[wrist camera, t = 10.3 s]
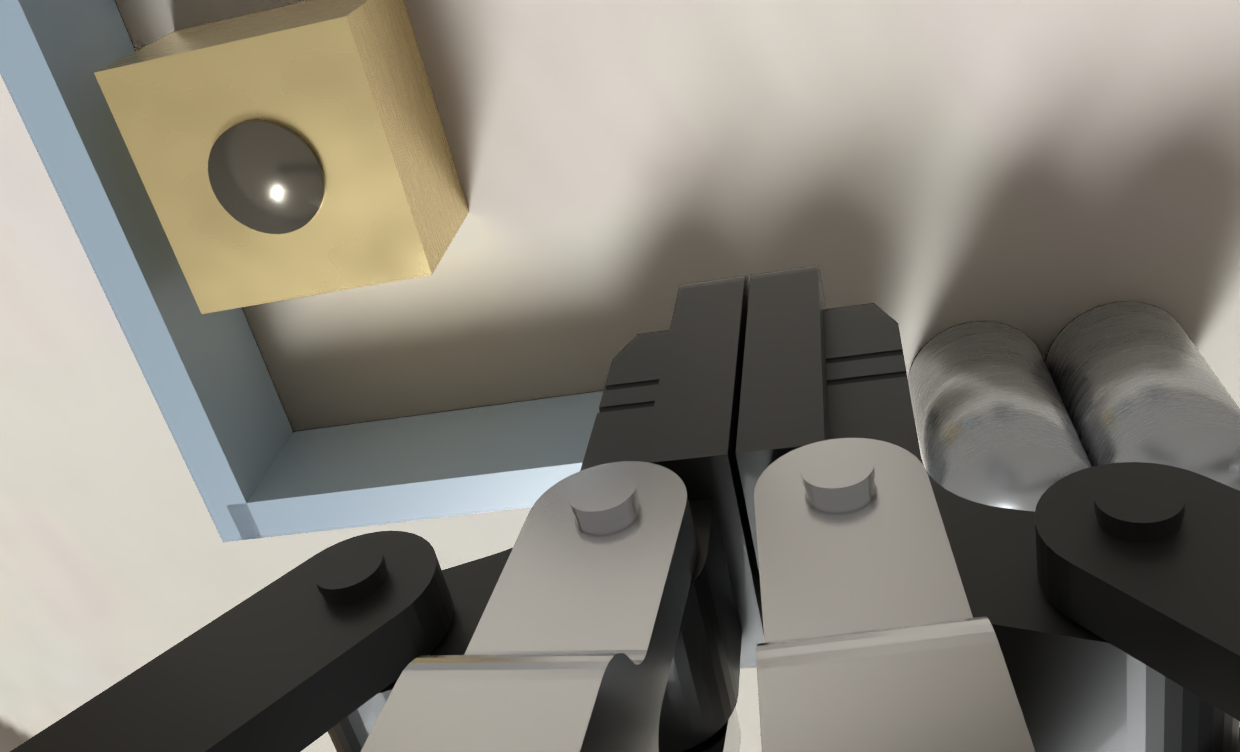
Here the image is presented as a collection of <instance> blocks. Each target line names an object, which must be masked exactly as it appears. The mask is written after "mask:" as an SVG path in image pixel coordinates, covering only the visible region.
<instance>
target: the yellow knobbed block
mask: <svg viewBox="0 0 1240 752" xmlns="http://www.w3.org/2000/svg"><path fill="white" fill-rule="evenodd" d="M94 74H95V76H96V79H97V81H98V83H99V85H100V88H101V90H102V92H103V94H104V97H105V99H106V101H107V103H108V106H109V108H110V110H111V112H112V115H113V117H114V119H115V121H116V123H117V126H118V128H119V130H120V132H121V135H122V137H123V139H124V141H125V144H126V146H127V148H128V150H129V153H130V155H131V157H132V159H133V162H134V164H135V166H136V168H137V171H138V173H139V175H140V177H141V180H142V182H143V184H144V186H145V189H146V191H147V193H148V195H149V197H150V200H151V202H152V204H153V206H154V209H155V211H156V213H157V215H158V218H159V220H160V222H161V224H162V227H163V229H164V231H165V233H166V236H167V238H168V240H169V242H170V245H171V247H172V249H173V251H174V254H175V256H176V258H177V260H178V263H179V265H180V267H181V269H182V271H183V274H184V276H185V278H186V280H187V283H188V285H189V287H190V289H191V292H192V294H193V296H194V298H195V301H196V303H197V305H198V307H199V310H200V312H201V314H206V313H212V312H217V311H223V310H229V309H235V308H241V307H246V306H252V305H258V304H264V303H270V302H276V301H281V300H287V299H293V298H299V297H305V296H310V295H316V294H322V293H328V292H334V291H339V290H345V289H351V288H357V287H363V286H368V285H374V284H380V283H386V282H392V281H398V280H403V279H409V278H415V277H421V276H427V275H432V273H433V272H434V270H435V268H436V267H437V265H438V263H439V262H440V260H441V258H442V257H443V255H444V253H445V252H446V250H447V248H448V246H449V245H450V243H451V241H452V240H453V238H454V236H455V235H456V233H457V231H458V230H459V228H460V226H461V224H462V223H463V221H464V219H465V218H466V216H467V214H468V213H469V210H468V207H467V204H466V201H465V197H464V194H463V191H462V188H461V184H460V181H459V178H458V175H457V171H456V168H455V165H454V162H453V158H452V155H451V152H450V149H449V145H448V142H447V139H446V136H445V132H444V129H443V126H442V122H441V119H440V116H439V113H438V109H437V106H436V103H435V100H434V96H433V93H432V90H431V87H430V83H429V80H428V77H427V74H426V70H425V67H424V64H423V61H422V57H421V54H420V51H419V48H418V44H417V41H416V38H415V35H414V31H413V28H412V25H411V22H410V18H409V15H408V12H407V9H406V5H405V2H404V0H308V1H304V2H300V3H295V4H291V5H287V6H282V7H278V8H273V9H269V10H265V11H260V12H256V13H251V14H247V15H243V16H238V17H234V18H230V19H225V20H221V21H216V22H212V23H208V24H203V25H199V26H194V27H190V28H186V29H181V30H177V31H174V32H172V33H170V34H168V35H166V36H164V37H162V38H160V39H158V40H156V41H154V42H152V43H150V44H149V45H147V46H145V47H143V48H141V49H139V50H137V51H135V52H133V53H131V54H129V55H127V56H125V57H123V58H121V59H119V60H118V61H116V62H114V63H112V64H110V65H108V66H106V67H104V68H102V69H100V70H98V71H96V72H94Z"/></svg>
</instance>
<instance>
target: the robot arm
mask: <svg viewBox="0 0 1240 752" xmlns="http://www.w3.org/2000/svg"><path fill="white" fill-rule="evenodd" d="M605 388H606V391H603V395H602V398H601V402H600V405H599V413H597V415H596V419H595V422H594V426H593V429H592V432H591V436H590V439H589V443H588V446H587V449H586V453H585V456H584V460H583V463H582V466H581V470H580V471H579V472H577V473H574V474H572V475H570V476H568V477H566V478H564V479H562V480H561V481H559V482H558V483H556V484H555V485H553V486H552V487H550V488H549V489H548V490H547V491H546V492H544V493H543V494H542V495H541V496H540V497H539V499H538V500H537V501H536V502H535V503H534V505H533V507H532V508H531V510H530V512H529V514H528V516H527V518H526V521H525V523H524V525H523V527H522V529H521V531H520V534H519V536H518V538H517V540H516V542H515V545H514V547H513V548H511V549H508V550H506V551H503V552H500V553H497V554H494V555H491V556H488V557H484V558H481V559H478V560H475V561H471V562H468V563H465V564H461V565H458V566H455V567H452V568H448V569H445V570H441V568H440V565H439V562H438V559H437V557H436V554H435V551H434V549H433V547H432V546H431V545H430V543H429V542H428V541H426V540H425V539H424V538H422V537H420V536H418V535H415V534H412V533H408V532H402V531H381V532H374V533H368V534H364V535H360V536H356V537H353V538H350V539H347V540H345V541H342V542H339V543H337V544H335V545H333V546H331V547H329V548H326V549H325V550H323V551H321V552H320V553H318V554H316V555H314V556H313V557H311V558H310V559H308V560H307V561H305V562H304V563H302V564H300V565H299V566H297V567H296V568H294V569H293V570H291V571H290V572H288V573H287V574H285V575H283V576H282V577H280V578H279V579H277V580H276V581H274V582H273V583H271V584H269V585H268V586H266V587H265V588H263V589H262V590H260V591H259V592H257V593H255V594H254V595H252V596H251V597H249V598H248V599H246V600H245V601H243V602H242V603H240V604H238V605H237V606H235V607H234V608H232V609H231V610H229V611H228V612H226V613H224V614H223V615H221V616H220V617H218V618H217V619H215V620H214V621H212V622H211V623H209V624H207V625H206V626H204V627H203V628H201V629H200V630H198V631H197V632H195V633H193V634H192V635H190V636H189V637H187V638H186V639H184V640H183V641H181V642H179V643H178V644H176V645H175V646H173V647H172V648H170V649H169V650H167V651H166V652H164V653H162V654H161V655H159V656H158V657H156V658H155V659H153V660H152V661H150V662H148V663H147V664H145V665H144V666H142V667H141V668H139V669H138V670H136V671H134V672H133V673H131V674H130V675H128V676H127V677H125V678H124V679H122V680H121V681H119V682H117V683H116V684H114V685H113V686H111V687H110V688H108V689H107V690H105V691H103V692H102V693H100V694H99V695H97V696H96V697H94V698H93V699H91V700H90V701H88V702H86V703H85V704H83V705H82V706H80V707H79V708H77V709H76V710H74V711H72V712H71V713H69V714H68V715H66V716H65V717H63V718H62V719H60V720H58V721H57V722H55V723H54V724H52V725H51V726H49V727H48V728H46V729H45V730H43V731H41V732H40V733H38V734H37V735H35V736H34V737H32V738H31V739H29V740H27V741H26V742H24V743H23V744H21V745H20V746H18V747H17V748H15V749H14V750H12V751H10V752H300V751H302V750H303V749H304V748H306V747H307V746H308V745H310V744H311V743H312V742H314V741H315V740H316V739H318V738H319V737H320V736H322V735H323V734H324V733H326V732H327V731H328V733H329V735H330V737H331V739H332V742H333V744H334V746H335V748H336V750H337V752H739V750H740V743H741V731H740V725H739V721H738V716H737V712H736V707H735V706H736V703H737V698H738V689H739V673H740V668H755V667H757V679H758V695H759V711H760V727H761V743H762V752H1240V727H1239V725H1240V491H1239V490H1236V489H1234V488H1232V487H1229V486H1227V485H1225V484H1222V483H1220V482H1217V481H1215V480H1213V479H1210V478H1208V477H1206V476H1203V475H1200V474H1198V473H1195V472H1192V471H1189V470H1186V469H1182V468H1178V467H1174V466H1169V465H1163V464H1156V463H1143V462H1122V463H1111V464H1103V465H1098V466H1094V467H1089V468H1085V469H1083V470H1080V471H1077V472H1074V473H1071V474H1069V475H1068V476H1066V477H1064V478H1062V479H1060V480H1058V481H1057V482H1056V483H1054V484H1053V485H1051V486H1050V487H1049V488H1048V489H1047V490H1046V491H1045V492H1044V493H1043V494H1042V496H1041V498H1040V499H1039V501H1038V503H1037V505H1036V510H1035V512H1034V511H1025V510H1016V509H1007V508H1001V507H994V506H989V505H985V504H981V503H977V502H973V501H971V500H968V499H965V498H963V497H960V496H958V495H956V494H954V493H952V492H950V491H948V490H946V489H945V488H944V487H942V486H941V485H939V484H938V483H937V482H936V481H935V480H934V479H933V478H932V477H931V476H930V475H929V474H928V472H927V471H926V469H925V467H924V465H923V463H922V459H921V455H920V449H919V443H918V438H917V432H916V426H915V420H914V414H913V408H912V403H911V397H910V391H909V385H908V379H907V374H906V367H905V362H904V356H903V350H902V344H901V338H900V332H899V327H898V323H897V322H896V321H895V320H894V319H892V318H891V317H890V316H889V315H887V314H886V313H885V312H884V311H883V310H881V309H880V308H879V307H878V306H877V305H875V304H874V303H870V304H863V305H855V306H847V307H840V308H832V309H825V302H824V295H823V288H822V282H821V276H820V270H819V266H811V267H803V268H796V269H789V270H782V271H775V272H768V273H761V274H754V275H751V278H750V284H749V281H748V278H747V276H741V277H733V278H726V279H719V280H712V281H705V282H698V283H691V284H683V285H680V286H679V289H678V294H677V299H676V304H675V308H674V313H673V318H672V322H671V327H670V330H666V331H658V332H651V333H643V334H638V335H637V336H636V337H635V338H634V339H633V340H632V341H631V342H630V343H629V344H628V345H627V346H626V347H625V348H624V349H623V350H622V351H621V352H620V353H619V354H618V355H617V356H616V357H615V358H614V359H613V361H612V364H611V367H610V371H609V374H608V378H607V381H606V385H605Z"/></svg>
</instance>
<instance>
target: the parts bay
mask: <svg viewBox="0 0 1240 752" xmlns="http://www.w3.org/2000/svg"><path fill="white" fill-rule="evenodd" d="M133 52H135V49H134V46H133V44H132V42H131V39H130V37H129V34H128V32H127V30H126V27H125V25H124V22H123V20H122V17H121V15H120V13H119V10H118V8H117V5H116V3H115V1H114V0H0V74H1V76H2V78H3V80H4V82H5V84H6V87H7V89H8V91H9V93H10V95H11V97H12V99H13V101H14V103H15V105H16V108H17V110H18V112H19V114H20V116H21V118H22V120H23V122H24V124H25V126H26V129H27V131H28V133H29V135H30V137H31V139H32V141H33V143H34V145H35V148H36V150H37V152H38V154H39V156H40V158H41V160H42V162H43V164H44V166H45V169H46V171H47V173H48V175H49V177H50V179H51V181H52V183H53V185H54V187H55V190H56V192H57V194H58V196H59V198H60V200H61V202H62V204H63V206H64V209H65V211H66V213H67V215H68V217H69V219H70V221H71V223H72V225H73V227H74V230H75V232H76V234H77V236H78V238H79V240H80V242H81V244H82V246H83V249H84V251H85V253H86V255H87V257H88V259H89V261H90V263H91V265H92V267H93V270H94V272H95V274H96V276H97V278H98V280H99V282H100V284H101V286H102V288H103V291H104V293H105V295H106V297H107V299H108V301H109V303H110V305H111V307H112V310H113V312H114V314H115V316H116V318H117V320H118V322H119V324H120V326H121V328H122V331H123V333H124V335H125V337H126V339H127V341H128V343H129V345H130V347H131V349H132V352H133V354H134V356H135V358H136V360H137V362H138V364H139V366H140V368H141V371H142V373H143V375H144V377H145V379H146V381H147V383H148V385H149V387H150V389H151V392H152V394H153V396H154V398H155V400H156V402H157V404H158V406H159V408H160V410H161V413H162V415H163V417H164V419H165V421H166V423H167V425H168V427H169V429H170V432H171V434H172V436H173V438H174V440H175V442H176V444H177V446H178V448H179V450H180V453H181V455H182V457H183V459H184V461H185V463H186V465H187V467H188V469H189V471H190V474H191V476H192V478H193V480H194V482H195V484H196V486H197V488H198V490H199V493H200V495H201V497H202V499H203V501H204V503H205V505H206V507H207V509H208V511H209V514H210V516H211V518H212V520H213V522H214V524H215V526H216V528H217V530H218V533H219V535H220V537H221V539H222V541H223V542H229V541H238V540H247V539H255V538H264V537H273V536H282V535H291V534H300V533H308V532H317V531H326V530H335V529H344V528H353V527H361V526H370V525H379V524H388V523H397V522H405V521H414V520H423V519H432V518H441V517H450V516H458V515H467V514H476V513H485V512H494V511H503V510H511V509H520V508H529V507H533V505H534V503H535V502H536V501H537V500H538V499H539V497H540V496H541V495H542V494H543V493H544V492H546V491H547V490H548V489H549V488H550V487H552V486H553V485H555V484H556V483H558V482H559V481H561V480H562V479H564V478H566V477H568V476H570V475H572V474H574V473H577V472H579V471H580V470H581V466H582V463H583V460H584V456H585V453H586V449H587V446H588V443H589V439H590V436H591V432H592V429H593V426H594V422H595V419H596V415H597V413H599V405H600V402H601V398H602V395H603V391H598V392H591V393H583V394H576V395H568V396H561V397H553V398H545V399H538V400H530V401H523V402H515V403H508V404H500V405H493V406H485V407H478V408H470V409H462V410H455V411H447V412H440V413H432V414H425V415H417V416H410V417H402V418H395V419H387V420H380V421H372V422H364V423H357V424H349V425H342V426H334V427H327V428H319V429H312V430H304V431H297V432H293V430H292V428H291V425H290V423H289V421H288V418H287V416H286V413H285V411H284V409H283V406H282V404H281V401H280V399H279V397H278V394H277V392H276V389H275V387H274V384H273V382H272V380H271V377H270V375H269V372H268V370H267V368H266V365H265V363H264V360H263V358H262V355H261V353H260V351H259V348H258V346H257V343H256V341H255V339H254V336H253V334H252V331H251V329H250V327H249V324H248V322H247V319H246V317H245V314H244V312H243V310H242V307H241V308H235V309H229V310H223V311H217V312H212V313H206V314H201V312H200V310H199V307H198V305H197V303H196V301H195V298H194V296H193V294H192V292H191V289H190V287H189V285H188V283H187V280H186V278H185V276H184V274H183V271H182V269H181V267H180V265H179V263H178V260H177V258H176V256H175V254H174V251H173V249H172V247H171V245H170V242H169V240H168V238H167V236H166V233H165V231H164V229H163V227H162V224H161V222H160V220H159V218H158V215H157V213H156V211H155V209H154V206H153V204H152V202H151V200H150V197H149V195H148V193H147V191H146V189H145V186H144V184H143V182H142V180H141V177H140V175H139V173H138V171H137V168H136V166H135V164H134V162H133V159H132V157H131V155H130V153H129V150H128V148H127V146H126V144H125V141H124V139H123V137H122V135H121V132H120V130H119V128H118V126H117V123H116V121H115V119H114V117H113V115H112V112H111V110H110V108H109V106H108V103H107V101H106V99H105V97H104V94H103V92H102V90H101V88H100V85H99V83H98V81H97V79H96V76H95V74H94V72H96V71H98V70H100V69H102V68H104V67H106V66H108V65H110V64H112V63H114V62H116V61H118V60H119V59H121V58H123V57H125V56H127V55H129V54H131V53H133Z"/></svg>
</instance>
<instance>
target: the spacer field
mask: <svg viewBox="0 0 1240 752" xmlns="http://www.w3.org/2000/svg"><path fill="white" fill-rule="evenodd" d="M908 385H909V391H910V397H911V403H912V408H913V413H914V417H915V422H916V426H917V431H918V435H919V439H920V444H921V448H922V453H923V457H924V461H925V466H926V470H927V472H928V474H929V475H930V476H931V477H932V478H933V479H934V480H935V481H936V482H937V483H938V484H939V485H941V486H942V487H944V488H945V489H946V490H948V491H950V492H952V493H954V494H956V495H958V496H960V497H963V498H965V499H968V500H971V501H973V502H977V503H981V504H985V505H989V506H994V507H1001V508H1007V509H1016V510H1025V511H1034V512H1035V510H1036V505H1037V503H1038V501H1039V499H1040V498H1041V496H1042V494H1043V493H1044V492H1045V491H1046V490H1047V489H1048V488H1049V487H1050V486H1051V485H1053V484H1054V483H1056V482H1057V481H1058V480H1060V479H1062V478H1064V477H1066V476H1068V475H1069V474H1071V473H1074V472H1077V471H1080V470H1083V469H1085V468H1089V467H1094V466H1098V465H1103V464H1111V463H1122V462H1143V463H1156V464H1163V465H1169V466H1174V467H1178V468H1182V469H1186V470H1189V471H1192V472H1195V473H1198V474H1200V475H1203V476H1206V477H1208V478H1210V479H1213V480H1215V481H1217V482H1220V483H1222V484H1225V485H1227V486H1229V487H1232V488H1234V489H1236V490H1239V491H1240V409H1239V407H1238V406H1237V405H1236V403H1235V402H1234V400H1233V399H1232V398H1231V396H1230V395H1229V393H1228V392H1227V390H1226V389H1225V388H1224V386H1223V385H1222V383H1221V382H1220V381H1219V379H1218V378H1217V376H1216V375H1215V373H1214V372H1213V371H1212V369H1211V368H1210V366H1209V365H1208V364H1207V362H1206V361H1205V359H1204V358H1203V357H1202V355H1201V354H1200V352H1199V351H1198V349H1197V348H1196V347H1195V345H1194V344H1193V342H1192V341H1191V340H1190V338H1189V337H1188V335H1187V334H1186V332H1185V331H1184V330H1183V328H1182V327H1181V325H1180V324H1179V323H1178V322H1177V321H1176V320H1175V318H1173V317H1172V316H1171V315H1170V314H1168V313H1167V312H1165V311H1164V310H1162V309H1160V308H1158V307H1155V306H1153V305H1149V304H1146V303H1140V302H1115V303H1110V304H1105V305H1102V306H1099V307H1096V308H1094V309H1091V310H1089V311H1087V312H1085V313H1083V314H1081V315H1080V316H1078V317H1077V318H1075V319H1074V320H1072V321H1071V322H1070V323H1069V324H1068V325H1067V326H1066V327H1065V328H1064V329H1063V330H1062V331H1061V332H1060V333H1059V334H1058V336H1057V337H1056V339H1055V340H1054V342H1053V344H1052V345H1051V347H1050V350H1049V353H1048V355H1047V360H1046V364H1045V362H1044V359H1043V357H1042V355H1041V353H1040V351H1039V349H1038V348H1037V346H1036V345H1035V343H1034V342H1033V341H1032V340H1031V339H1030V338H1029V337H1028V336H1026V335H1025V334H1024V333H1022V332H1021V331H1019V330H1017V329H1016V328H1013V327H1011V326H1008V325H1005V324H1002V323H997V322H990V321H977V322H969V323H964V324H960V325H957V326H954V327H951V328H949V329H947V330H945V331H943V332H941V333H940V334H938V335H936V336H935V337H934V338H932V339H931V340H930V341H929V342H928V343H927V344H926V345H925V346H924V347H923V348H922V349H921V350H920V351H919V353H918V354H917V356H916V358H915V359H914V361H913V364H912V366H911V369H910V372H909V378H908Z"/></svg>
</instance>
